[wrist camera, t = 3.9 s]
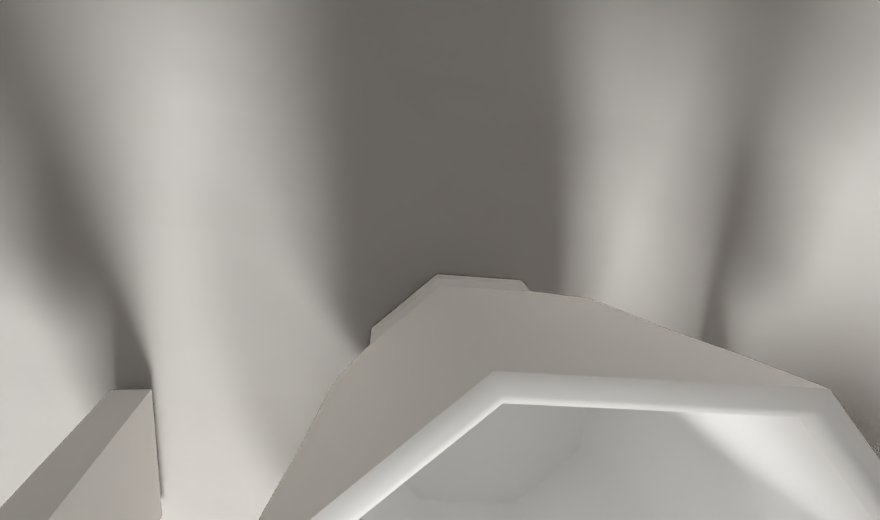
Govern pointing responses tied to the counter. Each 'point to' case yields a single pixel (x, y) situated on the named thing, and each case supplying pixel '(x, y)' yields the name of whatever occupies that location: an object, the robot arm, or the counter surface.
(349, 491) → the cup
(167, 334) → the counter surface
